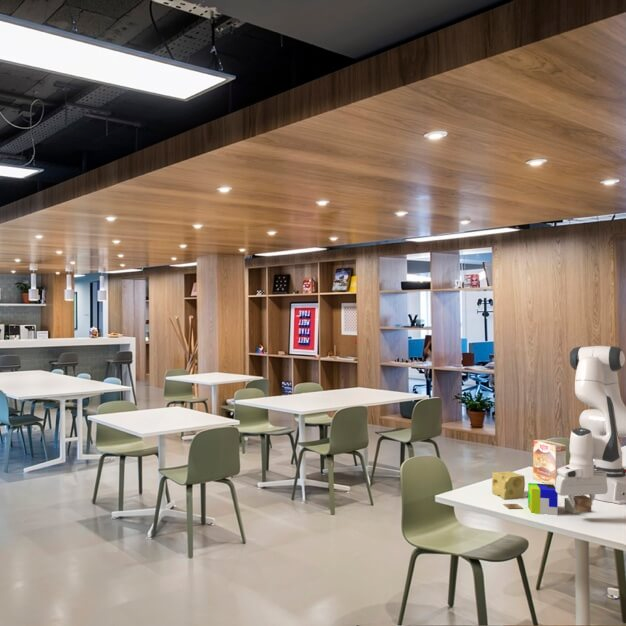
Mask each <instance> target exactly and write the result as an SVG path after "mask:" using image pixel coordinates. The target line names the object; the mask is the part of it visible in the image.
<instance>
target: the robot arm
mask: <svg viewBox="0 0 626 626" xmlns="http://www.w3.org/2000/svg"><path fill="white" fill-rule="evenodd" d="M568 357H569V358H568V360H569V364H570V366H571V368H572V369H573V370H574V371H575V376H574V393H575V396H576V397H577V400H579V401H581V402H582V403H583V404H585V405H587V406H589V407H592V408H589V409H585V410H583V411H582V412H580V415H579V420H578V422H579V425H580V427H576V428H574V429H573V428H572V430H571V431H570V437H569V440H568V451H569V454H570V457H569V464H566V466H564V467H561V468H558V469H557V473H558V474H560V475H558V476H557V478H556V485H555V490H556V492H557V494H558V496H563V497H565V496H567V498H569V499H570V500H571V505H572V506H577V502H576V501H574V499H573V498H574V495H585V496H588V497H589V498H591V507H592V506H593V502H594V500H598V501H602V502H608V503H613V504H618V505H624V504H625V505H626V468H625V467H623V451H622V445H621V443H620V439H619V438H626V405H625V404H624V402H623V400H622V397H621V391H620V386H619V385H620V384H619V375H618V371H620V370H622V369H623V368H624V365H625V363H626V362H625V361H626V355H625V354H624V350H623V349H622V348H621V347H620V346H614V345H612V346H610V345H609V346H608V345H607V346H606V345H594V346H592V345H590V346H578V347H577V346H576V347H573V348H572V349H571V351H570V352H569V356H568Z"/></svg>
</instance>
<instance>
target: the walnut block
mask: <svg viewBox="0 0 626 626" xmlns="http://www.w3.org/2000/svg"><path fill="white" fill-rule="evenodd" d="M589 497H590V496H588V495H574V498H573V499H574V501H576V502H577V506H572V508H573V509H575V510H576V511H578V512H582V513H587V512H589V513H590V512H592V506H591V498H589Z"/></svg>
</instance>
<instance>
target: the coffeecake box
mask: <svg viewBox="0 0 626 626" xmlns="http://www.w3.org/2000/svg"><path fill="white" fill-rule="evenodd" d="M532 441H533V454H532V455H533V460H532V462H533V463H532V468H533V469H532V480H534V479H535V481H537V482H540V481H541V483H543V482H544V483H543V484H546V483H547V484H552V485H554V486H555V485H556V478H557V476H558V475H560V474H558V473H557V469H558V468H561V467H564V466H566V465H567V458H566V457H567V445H566V444H562V443H559V442H554V441H550V440H548V439H547V440H546V439H535V440H532Z"/></svg>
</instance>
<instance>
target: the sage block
mask: <svg viewBox="0 0 626 626" xmlns="http://www.w3.org/2000/svg"><path fill="white" fill-rule="evenodd" d="M563 507H564V509H563V510H564V511H565V512H569V513H571V514H581V513H583V512H578V511H576V510H575V509H573V508H572V505H571V500H570V499H569V497H565V498H564V506H563Z"/></svg>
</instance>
